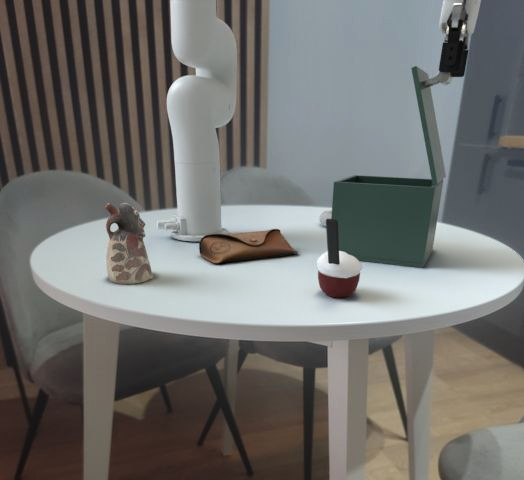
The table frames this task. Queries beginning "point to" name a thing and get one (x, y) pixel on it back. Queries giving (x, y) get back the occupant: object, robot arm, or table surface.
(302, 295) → the table surface
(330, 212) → the donut
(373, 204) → the trash bin
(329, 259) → the cocoa
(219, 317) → the table surface
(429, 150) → the bin lid
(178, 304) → the table surface
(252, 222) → the table surface
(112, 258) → the figurine
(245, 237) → the sunglasses case
